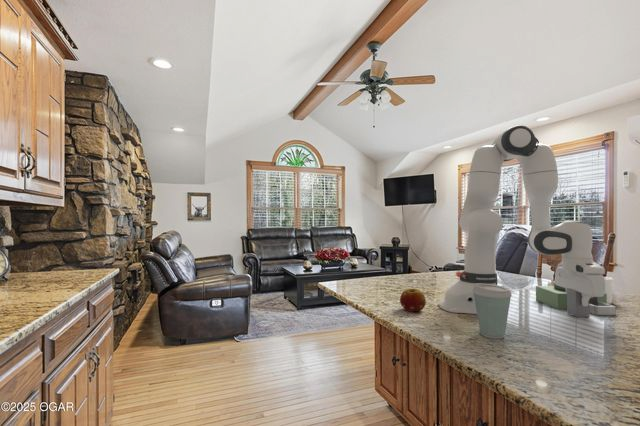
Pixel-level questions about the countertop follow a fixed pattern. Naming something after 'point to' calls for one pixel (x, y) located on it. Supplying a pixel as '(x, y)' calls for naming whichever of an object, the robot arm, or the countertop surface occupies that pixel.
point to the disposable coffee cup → (492, 309)
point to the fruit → (412, 300)
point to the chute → (576, 304)
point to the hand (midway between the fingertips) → (577, 303)
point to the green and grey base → (558, 300)
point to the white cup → (609, 289)
